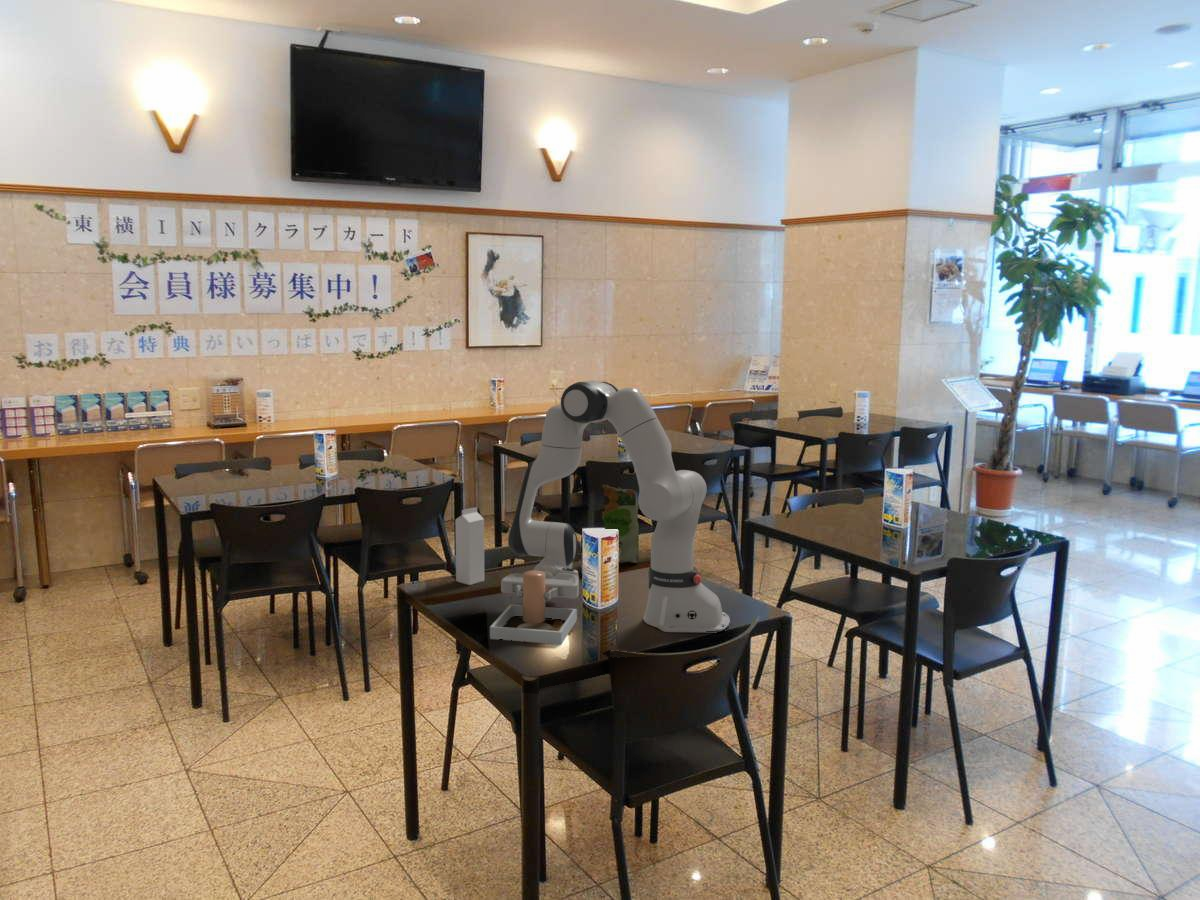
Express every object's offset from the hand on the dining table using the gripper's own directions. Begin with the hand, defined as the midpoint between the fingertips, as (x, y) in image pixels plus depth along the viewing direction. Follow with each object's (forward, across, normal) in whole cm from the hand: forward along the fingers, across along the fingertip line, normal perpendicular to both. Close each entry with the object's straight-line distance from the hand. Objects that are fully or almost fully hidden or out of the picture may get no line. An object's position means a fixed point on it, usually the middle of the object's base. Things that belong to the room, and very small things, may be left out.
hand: (533, 595), depth 232 cm
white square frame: (-1, 0, +9) cm, 9 cm away
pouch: (-67, +11, +10) cm, 68 cm away
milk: (-37, -29, +10) cm, 48 cm away
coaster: (-1, 0, +9) cm, 9 cm away
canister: (-1, 0, +7) cm, 7 cm away
